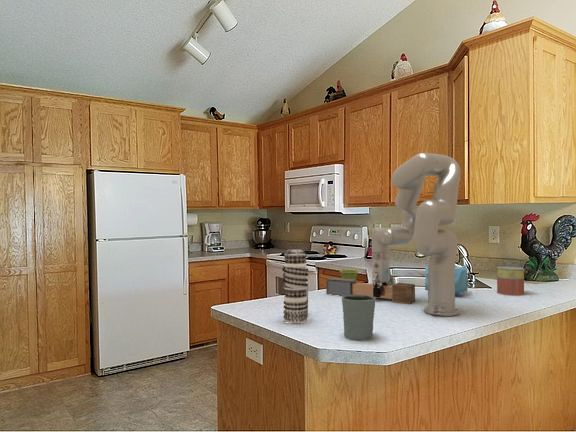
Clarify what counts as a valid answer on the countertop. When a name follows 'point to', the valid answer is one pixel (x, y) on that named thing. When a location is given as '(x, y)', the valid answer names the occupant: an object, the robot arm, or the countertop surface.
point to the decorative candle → (295, 286)
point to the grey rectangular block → (339, 286)
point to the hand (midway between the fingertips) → (380, 295)
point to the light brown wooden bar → (370, 290)
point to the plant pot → (349, 274)
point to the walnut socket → (403, 293)
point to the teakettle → (460, 280)
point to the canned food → (510, 281)
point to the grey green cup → (358, 316)
